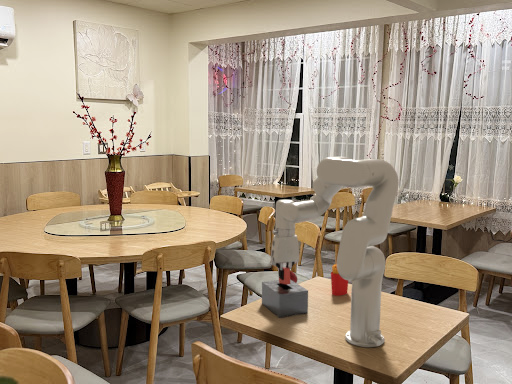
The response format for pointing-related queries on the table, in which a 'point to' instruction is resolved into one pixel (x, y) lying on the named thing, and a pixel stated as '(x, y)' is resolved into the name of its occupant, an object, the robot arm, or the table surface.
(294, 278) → the onion
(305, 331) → the table surface
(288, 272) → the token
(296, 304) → the grey slotted box
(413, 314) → the table surface
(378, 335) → the robot arm
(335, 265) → the french fries
